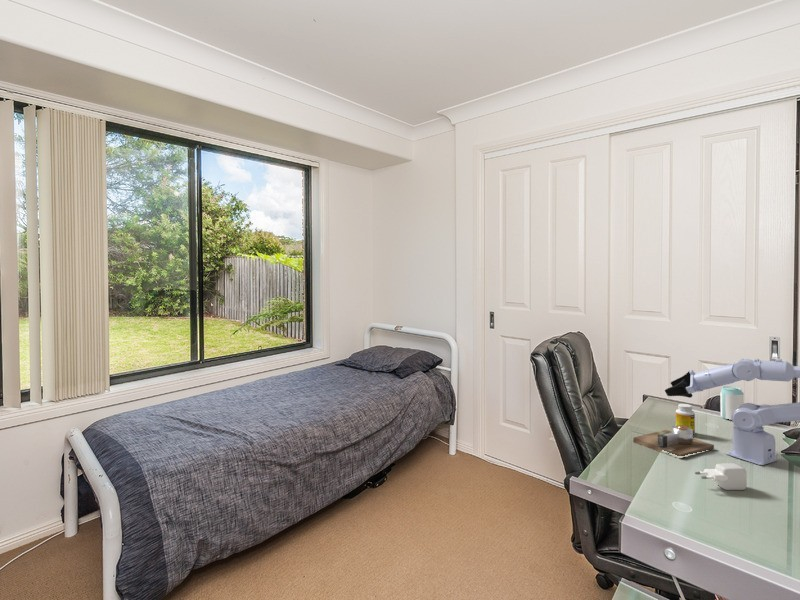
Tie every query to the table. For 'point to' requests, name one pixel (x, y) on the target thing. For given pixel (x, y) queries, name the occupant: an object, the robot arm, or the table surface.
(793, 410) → the robot arm
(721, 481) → the power adapter
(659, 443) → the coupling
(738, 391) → the can
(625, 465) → the table surface
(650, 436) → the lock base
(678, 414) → the supplement bottle
